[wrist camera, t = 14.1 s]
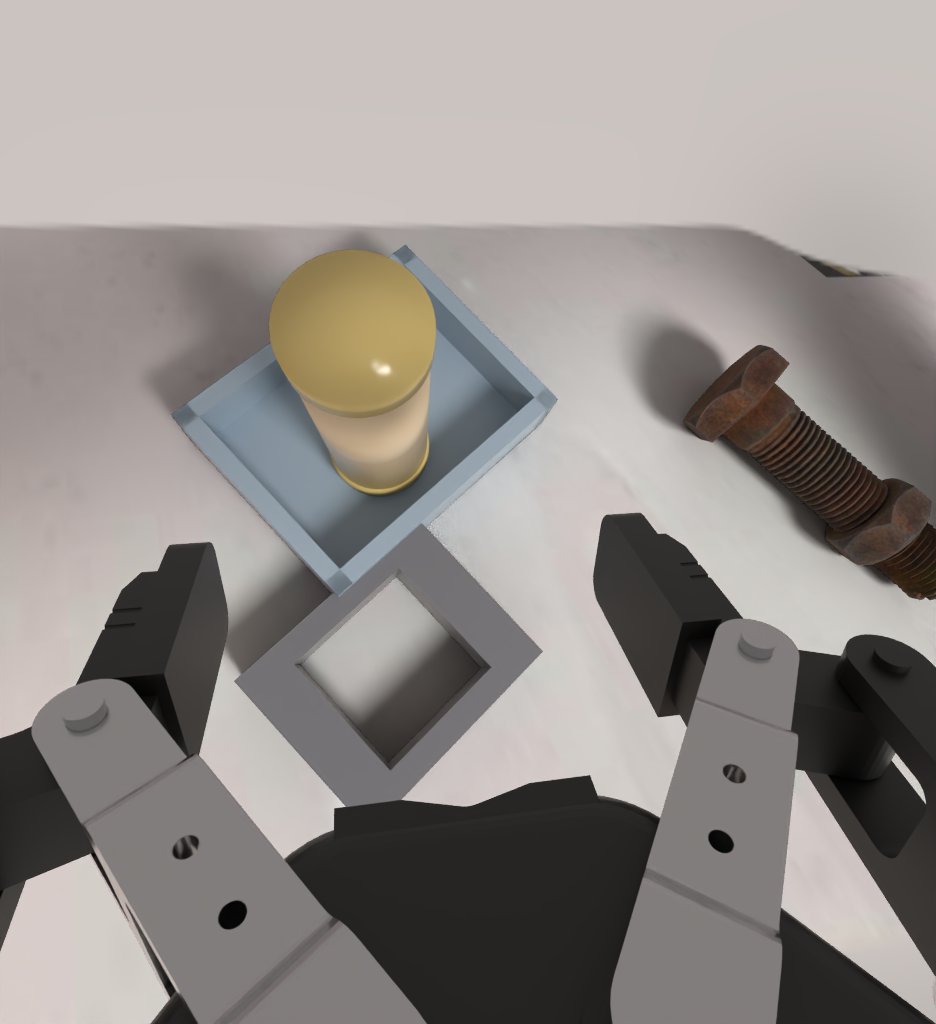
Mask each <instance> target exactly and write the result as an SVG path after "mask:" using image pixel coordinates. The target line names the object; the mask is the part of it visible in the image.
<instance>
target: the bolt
mask: <svg viewBox="0 0 936 1024" xmlns="http://www.w3.org/2000/svg"><path fill="white" fill-rule="evenodd" d="M788 365H789V362H787V361H786V360H785V359H784V358H783V357H782V356H781V355H779V354H778V353H777V352H776V351H775V350H774V349H773V348H770V347H767V346H763V345H757V346H756V347H754V348H753V349H751V350H750V351H749V352H747V353H746V354H745V355H743V356H742V357H741V358H740V359H739V360H737V361H736V362H735V363H734V364H732V365H731V366H730V367H729V368H728V369H727V370H726V371H725V372H724V373H723V374H722V375H721V376H720V377H719V378H718V379H717V380H716V381H715V382H714V383H713V384H712V385H711V386H710V387H709V388H708V389H707V391H706V392H705V393H704V394H703V395H702V396H701V397H700V399H699V400H698V401H697V402H696V403H695V404H694V405H693V407H692V408H691V410H690V411H689V413H688V414H687V416H686V418H685V420H684V424H685V425H686V426H687V427H688V428H689V429H691V430H692V431H693V432H694V433H695V434H696V435H697V436H698V437H700V438H701V439H702V440H706V441H710V442H713V441H714V440H716V439H717V438H718V437H719V436H720V435H722V434H724V435H725V436H726V437H727V438H729V439H730V440H731V441H732V442H733V443H734V444H736V445H737V446H738V447H739V448H740V449H741V450H745V451H746V452H748V453H751V456H752V457H756V459H755V460H757V461H758V462H760V463H761V465H762V466H765V469H767V470H768V471H769V470H770V473H771V474H772V475H775V477H776V478H777V479H780V482H781V483H783V484H785V487H787V488H790V491H791V492H794V493H795V496H798V497H800V500H801V501H804V503H805V504H806V505H807V506H809V507H810V509H812V510H814V512H815V513H816V514H819V517H820V518H823V519H824V521H825V522H826V523H829V524H828V526H827V529H826V535H825V540H826V541H827V542H828V543H830V544H831V545H832V546H833V547H834V548H835V549H836V550H837V551H839V552H840V553H841V554H842V555H843V556H844V557H846V558H847V559H849V560H850V561H852V562H853V563H855V564H857V565H870V564H873V565H874V566H876V567H878V569H879V570H880V571H882V572H883V574H884V575H887V577H888V578H889V579H891V580H892V581H893V583H895V584H897V585H898V587H899V588H901V589H902V591H903V592H905V593H906V594H907V595H908V596H909V597H911V598H915V599H919V600H922V599H924V598H925V597H926V598H928V599H929V600H933V599H936V529H934V528H933V526H932V525H930V524H929V523H928V519H929V516H930V508H931V501H930V500H929V499H928V498H927V497H926V496H924V495H923V494H922V493H921V492H920V491H919V490H918V489H917V488H915V487H914V486H912V485H910V484H908V483H906V482H904V481H901V480H898V479H893V478H891V479H885V480H882V481H881V480H880V479H878V478H877V476H876V475H874V474H872V472H871V471H870V470H867V467H865V466H864V465H862V463H861V462H859V461H857V459H856V458H855V457H853V456H852V455H851V453H849V452H847V450H846V449H845V448H843V447H841V444H839V443H837V442H836V441H835V440H834V439H832V438H831V436H830V435H828V434H826V431H824V430H821V427H820V426H819V425H816V423H815V421H813V420H811V418H810V417H809V416H806V414H805V412H803V411H801V409H800V408H799V407H798V406H797V405H796V404H795V402H794V400H793V399H792V398H791V397H790V396H788V395H787V394H786V393H785V392H784V391H783V390H782V389H781V388H780V387H779V386H777V385H776V384H775V382H776V380H777V379H778V378H779V377H780V375H781V374H782V373H783V372H784V370H785V369H786V368H787V366H788Z"/></svg>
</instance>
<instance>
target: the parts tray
mask: <svg viewBox="0 0 936 1024" xmlns="http://www.w3.org/2000/svg"><path fill="white" fill-rule="evenodd" d="M389 258H391V259H393V260H394V261H396V262H398V263H400V264H401V265H402V266H404V267H405V268H407V269H408V270H409V271H410V272H411V273H412V274H413V275H414V276H415V277H416V278H417V279H418V280H419V281H420V283H421V284H422V285H423V287H424V288H425V290H426V291H427V294H428V296H429V298H430V300H431V303H432V306H433V309H434V313H435V319H436V339H435V352H434V359H433V363H432V367H431V371H430V392H429V413H428V436H429V454H428V460H427V464H426V466H425V469H424V471H423V473H422V474H421V476H420V477H419V479H418V480H417V481H416V482H415V483H414V484H413V485H412V486H410V487H409V488H408V489H406V490H404V491H402V492H400V493H398V494H395V495H391V496H384V497H377V496H370V495H366V494H363V493H360V492H358V491H356V490H354V489H353V488H352V487H350V486H349V485H348V484H347V483H346V482H344V480H343V479H342V478H341V477H340V475H339V474H338V472H337V470H336V468H335V466H334V464H333V462H332V460H331V457H330V453H329V450H328V448H327V446H326V444H325V443H324V441H323V439H322V437H321V435H320V433H319V431H318V429H317V427H316V425H315V423H314V422H313V420H312V418H311V416H310V414H309V412H308V410H307V408H306V406H305V404H304V402H303V401H302V399H301V397H300V395H299V394H298V393H297V392H296V390H295V389H294V388H293V387H292V386H291V384H290V382H289V381H288V379H287V377H286V376H285V374H284V372H283V370H282V368H281V366H280V364H279V363H278V361H277V359H276V356H275V354H274V352H273V349H272V345H271V342H270V343H269V344H268V345H266V346H265V347H264V348H262V349H261V350H259V351H258V352H257V353H255V354H254V355H253V356H251V357H250V358H248V359H247V360H246V361H244V362H243V363H241V364H240V365H239V366H237V367H236V368H235V369H233V370H232V371H230V372H229V373H228V374H226V375H225V376H224V377H222V378H221V379H219V380H218V381H217V382H215V383H214V384H212V385H211V386H210V387H208V388H207V389H206V390H204V391H203V392H201V393H200V394H199V395H197V396H196V397H195V398H193V399H192V400H190V401H189V402H188V403H186V404H185V405H183V406H182V407H181V408H179V409H178V410H177V411H175V412H174V413H172V414H171V415H172V417H173V418H174V419H175V421H176V422H177V423H178V425H179V426H180V427H181V428H182V430H183V431H184V432H185V434H186V435H187V436H188V438H189V439H190V440H191V441H192V442H193V443H194V444H195V446H196V447H197V448H198V449H199V450H200V451H201V452H202V453H203V454H204V455H205V456H206V458H207V459H208V460H209V461H210V462H211V463H212V464H213V465H214V466H215V467H216V468H217V469H218V471H219V472H220V473H221V474H222V475H223V476H224V477H225V478H226V479H227V480H228V481H229V482H230V484H231V485H232V486H233V487H234V488H235V489H236V490H237V491H238V492H239V493H240V494H241V496H242V497H243V498H244V499H245V500H246V501H247V502H248V503H249V504H250V505H251V506H252V507H253V509H254V510H255V511H256V512H257V513H258V514H259V515H260V516H261V517H262V518H263V519H264V521H265V522H266V523H267V524H268V525H269V526H270V527H271V528H272V529H273V530H274V531H275V532H276V534H277V535H278V536H279V537H280V538H281V539H282V540H283V541H284V542H285V543H286V544H287V546H288V547H289V548H290V549H291V550H292V551H293V552H294V553H295V554H296V555H297V556H298V557H299V559H300V560H301V561H302V562H303V563H304V564H305V565H306V566H307V567H308V568H309V569H310V570H311V572H312V573H313V574H314V575H315V576H316V577H317V578H318V579H319V580H320V581H321V582H322V584H323V585H324V586H325V587H326V588H327V589H328V590H329V591H330V592H331V593H335V594H336V595H337V596H338V597H340V596H341V595H342V594H343V593H344V592H345V591H346V590H347V589H349V588H350V587H351V586H352V585H353V584H354V583H355V582H356V581H357V580H359V579H360V578H361V577H362V576H363V575H364V574H365V573H366V572H368V571H369V570H370V569H371V568H372V567H373V566H374V565H375V564H376V563H378V562H379V561H380V560H381V559H382V558H383V557H384V556H385V555H387V554H388V553H389V552H390V551H391V550H392V549H393V548H394V547H395V546H397V545H398V544H399V543H400V542H401V541H402V540H403V539H404V538H405V537H407V536H408V535H409V534H410V533H411V532H412V531H413V530H414V529H416V528H417V527H418V526H419V525H420V524H421V523H422V524H423V525H424V526H425V527H427V526H428V525H429V524H430V523H431V522H432V521H433V520H434V519H436V518H437V517H438V516H439V515H440V514H441V513H442V512H443V511H444V510H446V509H447V508H448V507H449V506H450V505H451V504H452V503H453V502H454V501H456V500H457V499H458V498H459V497H460V496H461V495H462V494H463V493H464V492H466V491H467V490H468V489H469V488H470V487H471V486H472V485H473V484H474V483H476V482H477V481H478V480H479V479H480V478H481V477H482V476H483V475H484V474H486V473H487V472H488V471H489V470H490V469H491V468H492V467H493V466H494V465H496V464H497V463H498V462H499V461H500V460H501V459H502V458H503V457H504V456H506V455H507V454H508V453H509V452H510V451H511V450H512V449H513V448H514V447H516V446H517V445H518V444H519V443H520V442H521V441H522V440H523V439H524V438H526V437H527V436H528V435H529V434H530V433H531V432H532V431H533V430H534V429H535V428H537V427H538V426H539V425H540V424H541V423H542V422H543V420H544V419H545V417H546V416H547V414H548V413H549V412H550V410H551V409H552V407H553V406H554V404H555V403H556V401H557V400H558V399H557V398H556V397H555V396H554V395H553V394H552V393H551V392H550V391H549V390H548V389H547V387H546V386H545V385H544V384H543V383H542V382H541V381H540V380H539V379H538V378H537V377H536V376H535V375H534V374H533V373H532V372H531V371H530V370H529V369H528V368H527V367H526V366H525V365H524V364H523V363H522V362H521V361H520V360H519V359H518V358H517V357H516V356H515V355H514V354H513V353H512V352H511V351H510V350H509V349H508V348H507V347H506V346H505V345H504V344H503V343H502V342H501V341H500V340H499V339H498V338H497V337H496V336H495V335H494V334H493V333H492V332H491V331H490V330H489V329H488V328H487V327H486V326H485V325H484V324H483V323H482V322H481V321H480V320H479V319H478V318H477V317H476V316H475V315H474V314H473V313H472V312H471V311H470V310H469V309H468V308H467V307H466V306H465V304H464V303H463V302H462V301H461V300H460V299H459V298H458V297H457V296H456V295H455V294H454V293H453V292H452V291H451V290H450V289H449V288H448V287H447V286H446V285H445V284H444V283H443V282H442V281H441V280H440V279H439V278H438V277H437V276H436V275H435V274H434V273H433V272H432V271H431V270H430V269H429V268H428V267H427V266H426V265H425V264H424V263H423V262H422V261H421V260H420V259H419V258H418V257H417V256H416V255H415V254H414V253H413V252H412V251H411V250H410V249H409V248H408V247H407V246H406V245H404V246H403V247H402V248H400V249H399V250H397V251H396V252H395V253H393V254H392V255H391V256H389Z"/></svg>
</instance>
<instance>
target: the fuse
mask: <svg viewBox="0 0 936 1024" xmlns="http://www.w3.org/2000/svg"><path fill="white" fill-rule="evenodd" d="M269 334H270V341H271V345H272V349H273V352H274V354H275V356H276V359H277V361H278V363H279V364H280V366H281V368H282V370H283V372H284V374H285V376H286V377H287V379H288V381H289V382H290V384H291V386H292V387H293V388H294V389H295V390H296V392H297V393H298V394H299V395H300V397H301V399H302V401H303V402H304V404H305V406H306V408H307V410H308V412H309V414H310V416H311V418H312V420H313V422H314V423H315V425H316V427H317V429H318V431H319V433H320V435H321V437H322V439H323V441H324V443H325V444H326V446H327V448H328V450H329V453H330V457H331V460H332V462H333V464H334V466H335V468H336V470H337V472H338V474H339V475H340V477H341V478H342V479H343V480H344V482H346V483H347V484H348V485H349V486H350V487H352V488H353V489H354V490H356V491H358V492H360V493H363V494H366V495H370V496H377V497H384V496H391V495H395V494H398V493H400V492H402V491H404V490H406V489H408V488H409V487H410V486H412V485H413V484H414V483H415V482H416V481H417V480H418V479H419V477H420V476H421V474H422V473H423V471H424V469H425V466H426V464H427V460H428V454H429V436H428V413H429V392H430V371H431V367H432V363H433V359H434V352H435V339H436V319H435V313H434V309H433V306H432V303H431V300H430V298H429V296H428V294H427V291H426V290H425V288H424V287H423V285H422V284H421V283H420V281H419V280H418V279H417V278H416V277H415V276H414V275H413V274H412V273H411V272H410V271H409V270H408V269H407V268H405V267H404V266H402V265H401V264H400V263H398V262H396V261H394V260H393V259H391V258H389V257H386V256H384V255H381V254H378V253H374V252H370V251H363V250H340V251H334V252H330V253H326V254H323V255H320V256H318V257H315V258H313V259H311V260H310V261H308V262H306V263H304V264H303V265H302V266H300V267H299V268H297V269H296V270H295V271H294V272H293V273H292V274H291V275H290V276H289V277H288V278H287V279H286V281H285V282H284V283H283V284H282V286H281V288H280V289H279V291H278V293H277V295H276V297H275V299H274V301H273V305H272V308H271V312H270V318H269Z"/></svg>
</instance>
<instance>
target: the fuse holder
mask: <svg viewBox="0 0 936 1024" xmlns="http://www.w3.org/2000/svg"><path fill="white" fill-rule="evenodd" d="M395 577H397V578H398V579H399V580H400V581H401V582H402V583H403V584H404V585H405V586H406V587H407V589H408V590H409V591H410V592H411V593H412V594H413V595H414V596H415V597H416V598H417V599H418V600H419V601H420V602H421V604H422V605H423V606H424V607H425V608H426V609H427V610H428V611H429V612H430V613H431V614H432V615H433V616H434V617H435V619H436V620H437V621H438V622H439V623H440V624H441V625H442V626H443V627H444V628H445V629H446V630H447V631H448V632H449V634H450V635H451V636H452V637H453V638H454V639H455V640H456V641H457V642H458V643H459V644H460V645H461V646H462V647H463V649H464V650H465V651H466V652H467V653H468V654H469V655H470V656H471V657H472V658H473V659H474V660H475V661H476V662H477V664H478V665H479V666H480V667H481V669H480V670H479V671H478V672H477V673H476V674H475V675H474V676H473V677H472V678H471V679H470V680H469V681H468V682H467V683H466V684H465V685H464V686H463V687H462V688H461V689H460V690H459V691H458V692H457V693H456V694H455V695H454V696H453V697H452V698H451V699H450V700H449V701H448V702H447V703H446V704H445V705H444V706H443V707H442V708H441V709H440V711H439V712H438V713H437V714H436V715H435V716H434V717H433V718H432V719H431V720H430V721H429V722H428V723H427V724H426V725H425V726H424V727H423V728H422V729H421V730H420V731H419V732H418V733H417V734H416V735H415V736H414V737H413V738H412V739H411V740H410V741H409V742H408V743H407V744H406V745H405V746H404V747H403V748H402V749H401V750H400V751H399V752H398V753H397V754H396V755H395V756H394V757H393V758H392V759H391V760H390V761H389V762H387V760H386V759H385V758H384V757H383V756H382V755H381V754H380V753H379V752H378V750H377V749H376V748H375V747H374V746H373V745H372V744H371V743H370V742H369V741H368V739H367V738H366V737H365V736H364V735H363V734H362V733H361V732H360V731H359V729H358V728H357V727H356V726H355V725H354V724H353V723H352V722H351V721H350V720H349V718H348V717H347V716H346V715H345V714H344V713H343V712H342V711H341V710H340V708H339V707H338V706H337V705H336V704H335V703H334V702H333V701H332V700H331V699H330V697H329V696H328V695H327V694H326V693H325V692H324V691H323V690H322V689H321V687H320V686H319V685H318V684H317V683H316V682H315V681H314V680H313V679H312V678H311V676H310V675H309V674H308V673H307V672H306V671H305V670H304V669H303V668H302V666H301V665H300V664H301V663H302V662H303V661H305V660H306V659H307V658H308V657H309V656H310V655H311V654H312V653H313V652H314V651H315V650H317V649H318V648H319V647H320V646H321V645H322V644H323V643H324V642H325V641H326V640H328V639H329V638H330V637H331V636H332V635H333V634H334V633H335V632H336V631H337V630H338V629H340V628H341V627H342V626H343V625H344V624H345V623H346V622H347V621H348V620H349V619H351V618H352V617H353V616H354V615H355V614H356V613H357V612H358V611H359V610H360V609H361V608H363V607H364V606H365V605H366V604H367V603H368V602H369V601H370V600H371V599H372V598H373V597H375V596H376V595H377V594H378V593H379V592H380V591H381V590H382V589H383V588H384V587H386V586H387V585H388V584H389V583H390V582H391V581H392V580H393V579H394V578H395ZM542 652H543V651H542V650H541V649H540V648H539V647H538V646H537V645H536V644H535V643H534V641H533V640H532V639H531V638H530V637H529V636H528V635H527V634H526V633H525V632H524V631H523V630H522V629H521V628H520V627H519V626H518V625H517V624H516V622H515V621H514V620H513V619H512V618H511V617H510V616H509V615H508V614H507V613H506V612H505V611H504V610H503V609H502V608H501V607H500V606H499V604H498V603H497V602H496V601H495V600H494V599H493V598H492V597H491V596H490V595H489V594H488V593H487V592H486V591H485V590H484V589H483V588H482V587H481V585H480V584H479V583H478V582H477V581H476V580H475V579H474V578H473V577H472V576H471V575H470V574H469V573H468V572H467V571H466V570H465V569H464V567H463V566H462V565H461V564H460V563H459V562H458V561H457V560H456V559H455V558H454V557H453V556H452V555H451V554H450V553H449V552H448V551H447V549H446V548H445V547H444V546H443V545H442V544H441V543H440V542H439V541H438V540H437V539H436V538H435V537H434V536H433V535H432V534H431V533H430V532H429V530H428V529H427V528H426V527H425V526H424V525H423V524H422V523H421V524H420V525H419V526H418V527H417V528H416V529H414V530H413V531H412V532H411V533H410V534H409V535H408V536H407V537H405V538H404V539H403V540H402V541H401V542H400V543H399V544H398V545H397V546H395V547H394V548H393V549H392V550H391V551H390V552H389V553H388V554H387V555H385V556H384V557H383V558H382V559H381V560H380V561H379V562H378V563H376V564H375V565H374V566H373V567H372V568H371V569H370V570H369V571H368V572H366V573H365V574H364V575H363V576H362V577H361V578H360V579H359V580H357V581H356V582H355V583H354V584H353V585H352V586H351V587H350V588H349V589H347V590H346V591H345V592H344V593H343V594H342V595H341V596H340V597H338V596H337V595H336V594H335V593H332V594H331V595H330V596H329V597H328V598H327V599H326V600H325V601H323V602H322V603H321V604H320V605H319V606H318V607H317V608H316V609H314V610H313V611H312V612H311V613H310V614H309V615H308V616H307V617H305V618H304V619H303V620H302V621H301V622H300V623H299V624H298V625H296V626H295V627H294V628H293V629H292V630H291V631H290V632H289V633H287V634H286V635H285V636H284V637H283V638H282V639H281V640H280V641H279V642H277V643H276V644H275V645H274V646H273V647H272V648H271V649H270V650H268V651H267V652H266V653H265V654H264V655H263V656H262V657H261V658H259V659H258V660H257V661H256V662H255V663H254V664H253V665H252V666H250V667H249V668H248V669H247V670H246V671H245V672H244V673H243V674H241V675H240V676H239V677H238V678H237V679H236V680H235V681H234V682H235V683H236V684H237V685H238V686H239V687H240V688H241V689H242V691H243V692H244V693H245V694H246V695H247V696H248V697H249V698H250V700H251V701H252V702H253V703H254V704H255V705H256V706H257V707H258V708H259V710H260V711H261V712H262V713H263V714H264V715H265V716H266V717H267V719H268V720H269V721H270V722H271V723H272V724H273V725H274V726H275V728H276V729H277V730H278V731H279V732H280V733H281V734H282V735H283V737H284V738H285V739H286V740H287V741H288V742H289V743H290V744H291V745H292V747H293V748H294V749H295V750H296V751H297V752H298V753H299V754H300V756H301V757H302V758H303V759H304V760H305V761H306V762H307V763H308V765H309V766H310V767H311V768H312V769H313V770H314V771H315V772H316V774H317V775H318V776H319V777H320V778H321V779H322V780H323V781H324V782H325V784H326V785H327V786H328V787H329V788H330V789H331V790H332V791H333V793H334V794H335V795H336V796H337V797H338V798H339V799H340V800H341V802H342V803H343V804H344V805H345V806H346V807H350V806H357V805H365V804H373V803H380V802H388V801H396V800H401V799H402V798H403V797H404V796H405V795H406V794H407V793H408V792H409V791H410V790H411V789H412V788H413V787H414V786H415V785H416V784H417V783H418V782H419V780H420V779H421V778H422V777H423V776H424V775H425V774H426V773H427V772H428V771H429V770H430V769H431V768H432V767H433V766H434V765H435V764H436V763H437V762H438V761H439V760H440V759H441V757H442V756H443V755H444V754H445V753H446V752H447V751H448V750H449V749H450V748H451V747H452V746H453V745H454V744H455V743H456V742H457V741H458V740H459V739H460V738H461V737H462V735H463V734H464V733H465V732H466V731H467V730H468V729H469V728H470V727H471V726H472V725H473V724H474V723H475V722H476V721H477V720H478V719H479V718H480V717H481V716H482V715H483V713H484V712H485V711H486V710H487V709H488V708H489V707H490V706H491V705H492V704H493V703H494V702H495V701H496V700H497V699H498V698H499V697H500V696H501V695H502V694H503V693H504V692H505V690H506V689H507V688H508V687H509V686H510V685H511V684H512V683H513V682H514V681H515V680H516V679H517V678H518V677H519V676H520V675H521V674H522V673H523V672H524V671H525V670H526V668H527V667H528V666H529V665H530V664H531V663H532V662H533V661H534V660H535V659H536V658H537V657H538V656H539V655H540V654H541V653H542Z"/></svg>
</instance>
